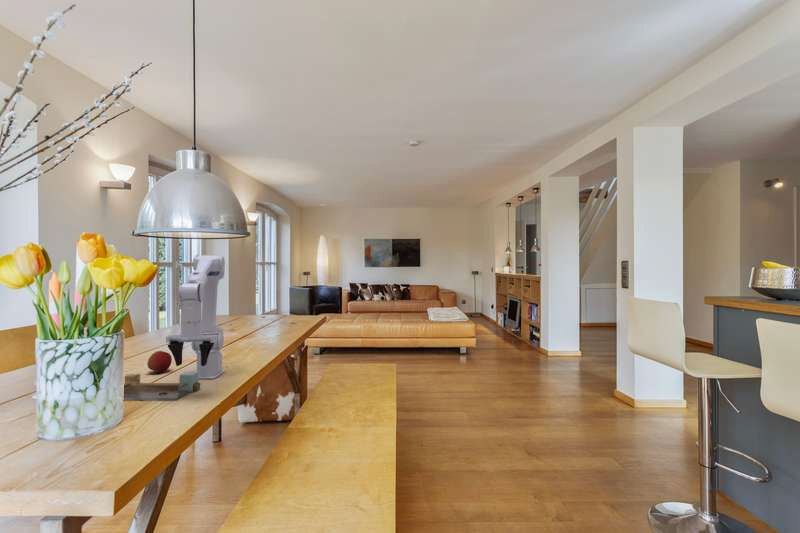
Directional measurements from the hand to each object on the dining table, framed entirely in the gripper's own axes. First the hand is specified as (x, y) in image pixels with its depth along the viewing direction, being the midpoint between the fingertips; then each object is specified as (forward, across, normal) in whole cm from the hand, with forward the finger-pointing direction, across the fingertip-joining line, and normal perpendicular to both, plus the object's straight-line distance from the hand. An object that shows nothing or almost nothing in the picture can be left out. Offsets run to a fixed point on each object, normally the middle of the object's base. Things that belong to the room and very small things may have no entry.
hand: (191, 365), depth 126 cm
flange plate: (+10, -13, -1) cm, 16 cm away
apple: (+10, -25, +26) cm, 37 cm away
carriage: (+9, -3, +3) cm, 10 cm away
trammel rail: (+10, -12, +3) cm, 16 cm away
